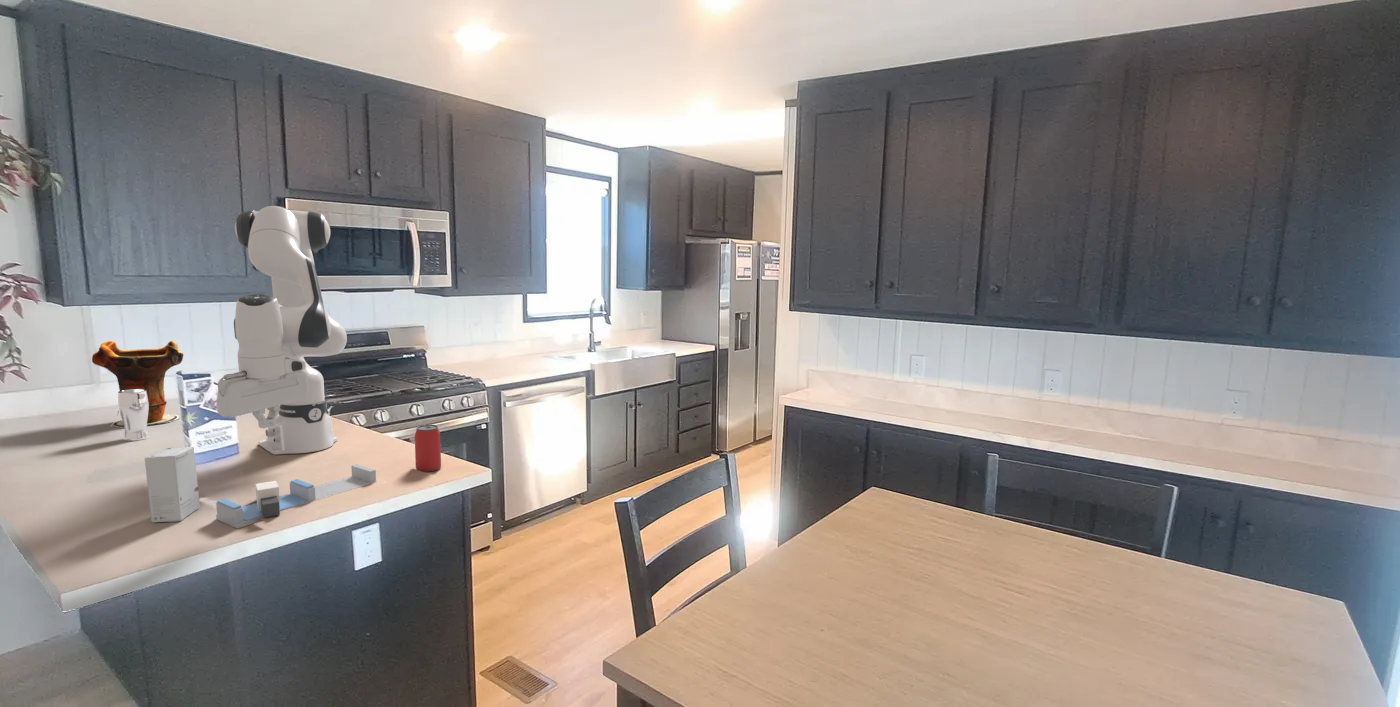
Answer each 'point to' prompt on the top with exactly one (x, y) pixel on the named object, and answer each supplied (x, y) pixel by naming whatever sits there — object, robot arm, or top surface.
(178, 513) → the skincare box
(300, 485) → the slider rail
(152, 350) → the decorative vase
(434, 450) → the beer can
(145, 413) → the beer glass
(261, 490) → the grey post with collar
